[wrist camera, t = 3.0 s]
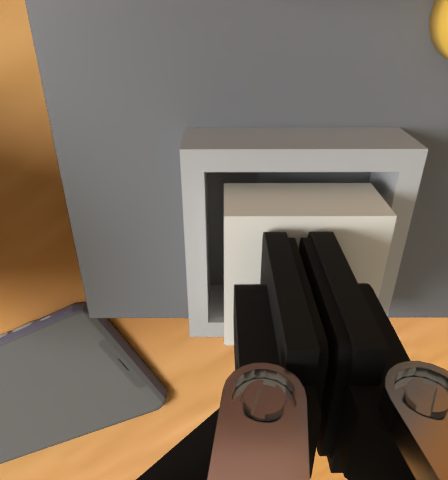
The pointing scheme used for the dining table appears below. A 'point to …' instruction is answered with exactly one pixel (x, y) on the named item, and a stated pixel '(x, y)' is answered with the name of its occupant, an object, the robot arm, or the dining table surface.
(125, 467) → the dining table surface
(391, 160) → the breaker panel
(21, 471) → the dining table surface
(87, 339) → the smartphone
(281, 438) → the robot arm
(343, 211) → the button
